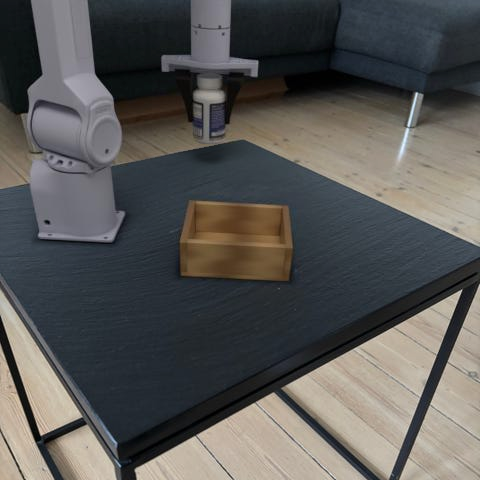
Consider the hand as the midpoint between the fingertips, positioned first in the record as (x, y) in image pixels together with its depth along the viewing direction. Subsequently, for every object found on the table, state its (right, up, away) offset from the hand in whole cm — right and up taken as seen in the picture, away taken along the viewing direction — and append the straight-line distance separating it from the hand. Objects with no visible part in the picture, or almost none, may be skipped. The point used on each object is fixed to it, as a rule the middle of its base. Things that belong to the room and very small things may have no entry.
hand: (209, 121), depth 83 cm
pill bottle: (0, -2, +2) cm, 3 cm away
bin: (+4, -24, -19) cm, 31 cm away
